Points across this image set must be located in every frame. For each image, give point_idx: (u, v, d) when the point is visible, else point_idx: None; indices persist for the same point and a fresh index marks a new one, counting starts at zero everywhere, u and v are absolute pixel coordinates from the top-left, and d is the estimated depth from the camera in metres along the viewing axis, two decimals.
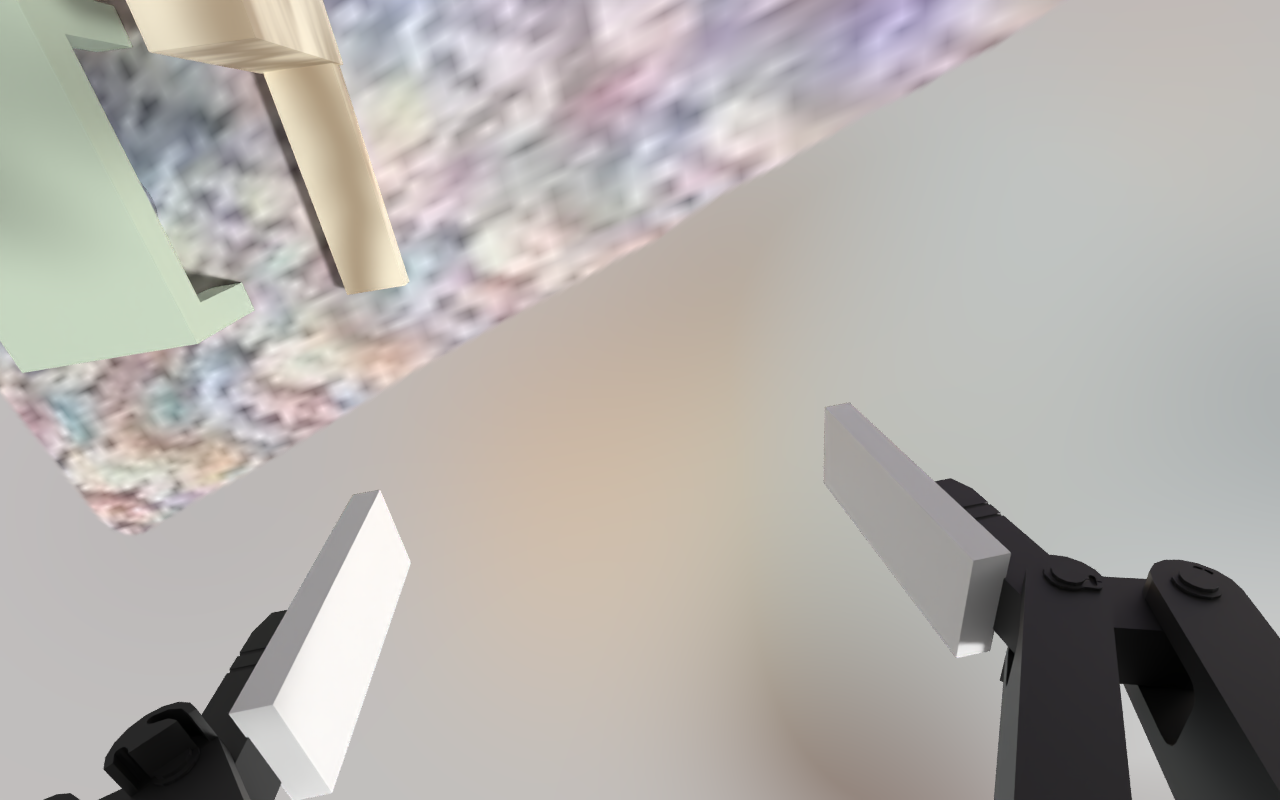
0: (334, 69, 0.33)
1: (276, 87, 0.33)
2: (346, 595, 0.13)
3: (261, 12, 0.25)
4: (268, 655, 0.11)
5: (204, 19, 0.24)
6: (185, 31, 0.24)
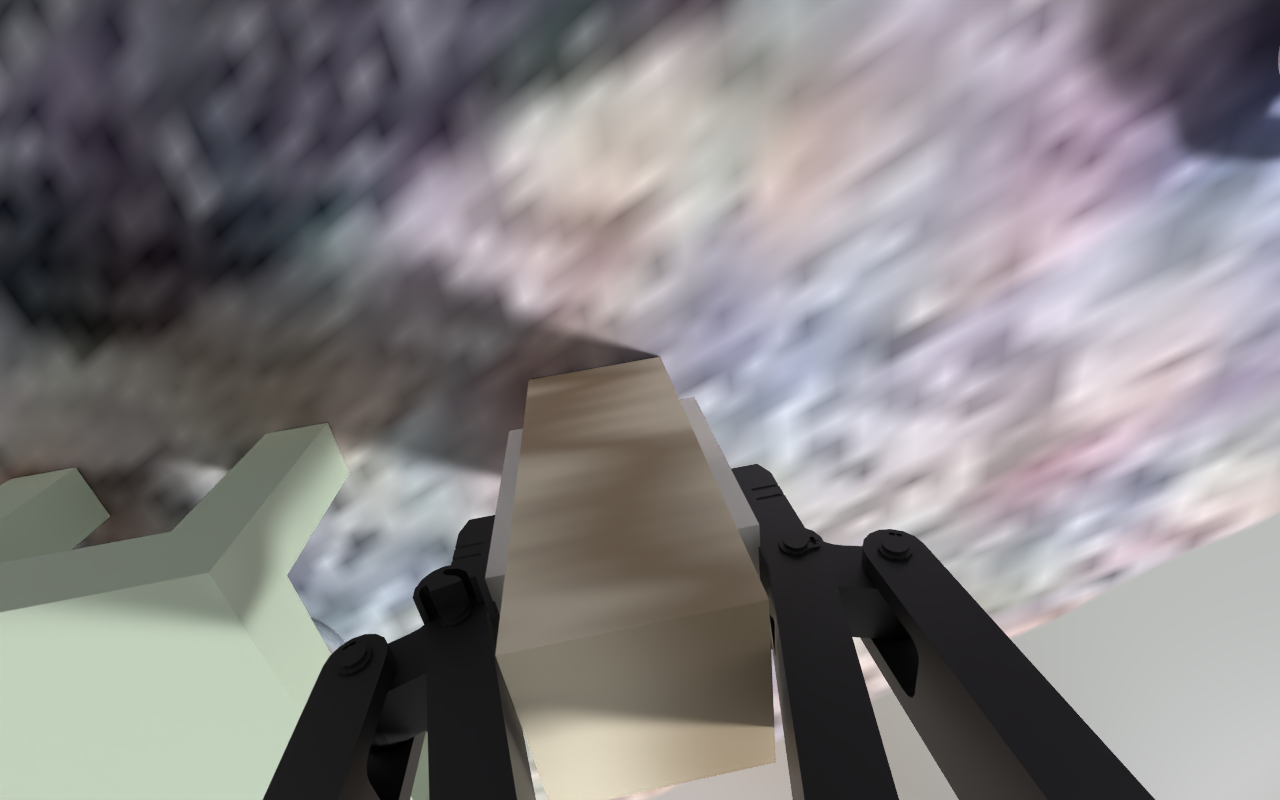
0: None
1: None
2: None
3: None
4: (497, 540, 0.13)
5: (684, 755, 0.11)
6: (639, 775, 0.11)
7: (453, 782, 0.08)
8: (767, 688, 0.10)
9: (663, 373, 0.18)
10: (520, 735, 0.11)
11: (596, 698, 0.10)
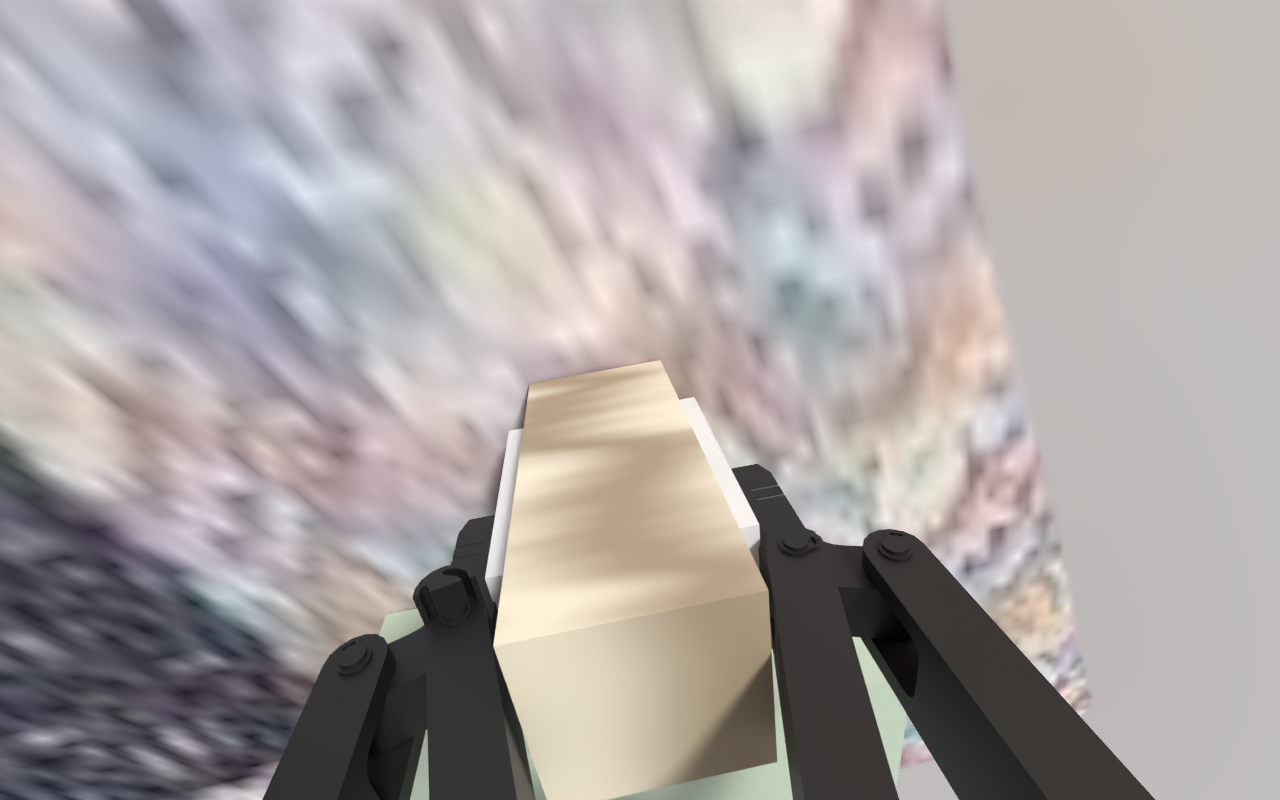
0: None
1: None
2: None
3: None
4: (497, 541, 0.13)
5: (685, 753, 0.10)
6: (638, 775, 0.11)
7: (453, 782, 0.08)
8: (768, 683, 0.10)
9: (663, 376, 0.18)
10: (520, 735, 0.11)
11: (595, 693, 0.10)
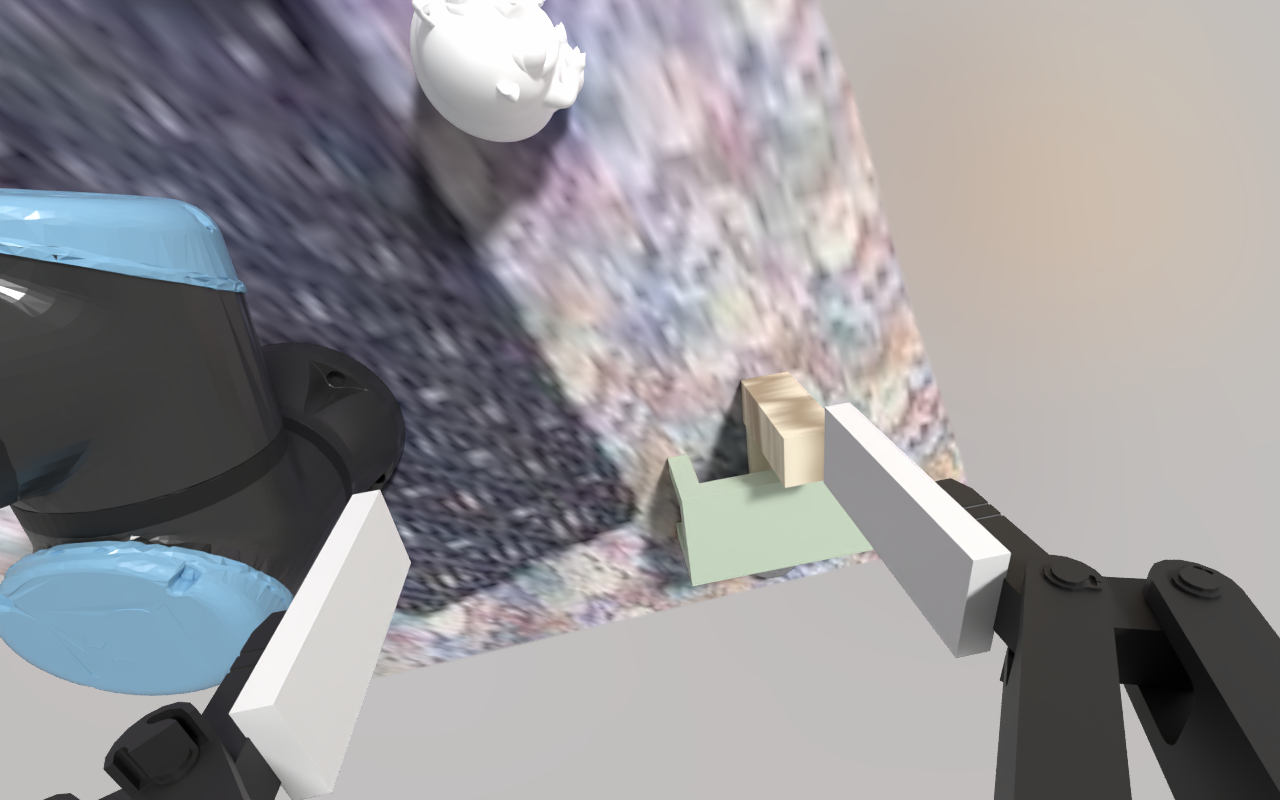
0: None
1: None
2: (346, 595, 0.13)
3: None
4: (268, 655, 0.11)
5: (818, 472, 0.43)
6: (807, 478, 0.43)
7: None
8: None
9: (792, 378, 0.50)
10: None
11: (801, 452, 0.42)
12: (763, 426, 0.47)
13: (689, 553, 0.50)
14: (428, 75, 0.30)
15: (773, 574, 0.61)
